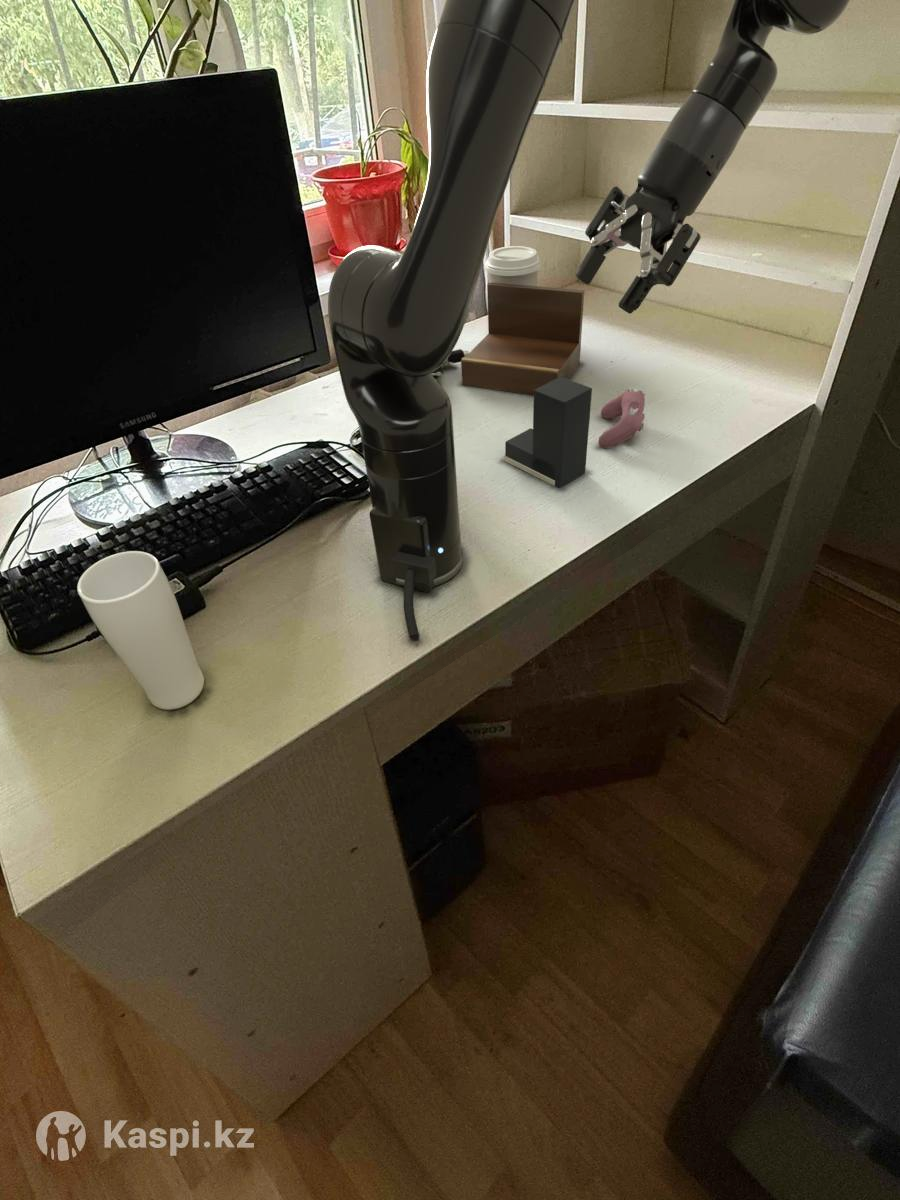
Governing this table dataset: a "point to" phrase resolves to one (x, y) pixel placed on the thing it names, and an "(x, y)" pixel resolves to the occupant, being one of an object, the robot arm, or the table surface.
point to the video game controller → (623, 417)
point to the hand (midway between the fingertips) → (602, 295)
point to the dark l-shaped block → (554, 434)
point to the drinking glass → (143, 626)
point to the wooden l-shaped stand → (526, 338)
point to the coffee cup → (513, 265)
